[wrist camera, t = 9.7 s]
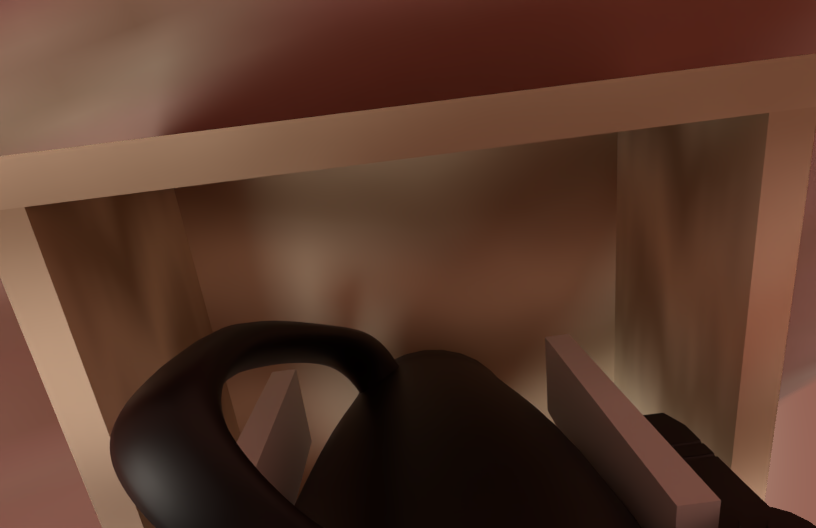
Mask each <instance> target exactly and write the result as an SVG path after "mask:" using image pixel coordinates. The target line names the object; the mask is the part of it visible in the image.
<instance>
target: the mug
mask: <svg viewBox="0 0 816 528" xmlns="http://www.w3.org/2000/svg"><path fill="white" fill-rule="evenodd" d="M287 363H312V364H320V365H325V366H328V367H331V368H333V369H335V370H337V371H339V372H340V373H342V374H343V375H344V376H346V377H347V378H348V379H349V380H350V381H351V382H352V384H353V385H354V386H355V387H356V388H357V390H358V391H359V394H358V396H357V397H356V399H355V400H354V402H353V403H352V404H351V406H350V407H349V409H348V410H347V411H346V413H345V414H344V415H343V417H342V418H341V420H340V421H339V423H338V424H337V426H336V427H335V429H334V430H333V432H332V434H331V435H330V437H329V439H328V441H327V442H326V444H325V446H324V448H323V449H322V451H321V453H320V455H319V457H318V458H317V460H316V462H315V464H314V466H313V468H312V470H311V472H310V474H309V476H308V478H307V480H306V482H305V484H304V486H303V488H302V490H301V493H300V495H299V497H298V499H297V501H296V503H295V505H293V504H292V503H291V502H290V501H288V500H287V499H286V498H285V497H284V496H283V495H282V494H281V493H280V492H279V491H278V490H277V489H276V488H275V487H274V486H273V485H272V484H271V483H270V482H269V481H268V480H267V479H266V478H265V477H264V476H263V475H262V474H261V473H260V471H259V470H258V469H257V468H256V467H255V466H254V465H253V463H252V462H251V461H250V460H249V459H248V457H247V456H246V455H245V453H244V452H243V451H242V449H241V448H240V447H239V445H238V444H237V442H236V441H235V439H234V438H233V436H232V435H231V433H230V431H229V429H228V427H227V425H226V422H225V419H224V415H223V411H222V403H221V397H222V389H223V385H224V383H225V382H226V381H227V380H228V379H230V378H231V377H233V376H234V375H236V374H238V373H240V372H243V371H247V370H250V369H255V368H259V367H264V366H270V365H277V364H287ZM110 456H111V461H112V465H113V468H114V470H115V473H116V475H117V477H118V479H119V481H120V483H121V485H122V487H123V488H124V490H125V491H126V493H127V495H128V496H129V497H130V499H131V500H132V502H133V503H134V504H135V505H136V507H137V508H138V509H139V510H140V511H141V513H142V514H143V515H144V516H145V517H146V518H147V519H148V520H149V521H150V523H151V524H152V525H153V526H154V527H155V528H641V526H640V525H639V523H638V522H637V520H636V519H635V517H634V516H633V515H632V514H631V513H630V511H629V510H628V509H627V508H626V506H625V505H624V504H623V503H622V501H621V500H620V499H619V498H618V497H617V495H616V494H615V493H614V492H613V490H612V489H611V488H610V487H609V486H608V484H607V483H606V482H605V481H604V479H603V478H602V477H601V476H600V475H599V473H598V472H597V471H596V470H595V468H594V467H593V466H592V465H591V464H590V462H589V461H588V460H587V459H586V457H585V456H584V455H583V454H582V453H581V452H580V450H579V449H578V448H577V447H576V446H575V445H574V444H573V443H572V442H571V441H570V440H569V439H568V438H567V437H566V436H565V435H564V434H563V433H562V431H561V430H560V429H559V428H558V427H557V426H556V425H555V424H554V423H553V422H551V421H550V420H549V419H548V418H547V417H546V416H545V415H544V414H543V413H542V412H541V411H539V410H538V409H537V408H536V407H535V406H534V405H532V404H531V403H530V402H529V401H528V400H526V399H525V398H524V397H523V396H521V395H520V394H519V393H517V392H516V391H515V390H513V389H512V388H511V387H509V386H508V385H507V384H505V383H504V382H503V381H501V380H500V379H499V378H498V377H496V376H495V374H494V373H493V372H492V371H491V370H490V369H488V368H487V367H486V366H484V365H483V364H481V363H480V362H479V361H477V360H475V359H473V358H471V357H468V356H466V355H464V354H461V353H456V352H451V351H446V350H422V351H418V352H413V353H409V354H405V355H403V356H401V357H398V358H396V359H394V358H393V356H392V355H391V353H390V352H389V351H388V350H387V349H386V347H385V346H384V345H383V344H382V343H381V342H380V341H378V340H377V339H376V338H374V337H373V336H371V335H370V334H368V333H365V332H363V331H360V330H356V329H352V328H347V327H341V326H333V325H325V324H316V323H307V322H296V321H275V320H272V321H257V322H248V323H239V324H234V325H230V326H226V327H224V328H221V329H219V330H217V331H215V332H213V333H211V334H209V335H207V336H205V337H203V338H201V339H199V340H198V341H196V342H194V343H193V344H191V345H190V346H189V347H187V348H186V349H185V350H183V351H182V352H180V353H179V354H178V355H176V356H175V357H174V358H172V359H171V360H170V361H168V362H167V363H166V364H164V365H163V366H162V367H161V368H160V369H158V370H157V371H156V372H155V373H154V374H153V375H152V376H151V377H150V378H149V379H148V380H147V381H146V382H145V383H144V384H143V385H142V386H141V387H140V388H139V389H138V390H137V391H136V392H135V393H134V394H133V395H132V397H131V398H130V399H129V400H128V401H127V403H126V404H125V406H124V407H123V409H122V410H121V412H120V414H119V416H118V417H117V419H116V421H115V423H114V426H113V429H112V432H111V436H110Z"/></svg>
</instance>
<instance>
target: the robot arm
mask: <svg viewBox="0 0 816 528" xmlns="http://www.w3.org/2000/svg"><path fill="white" fill-rule="evenodd" d="M545 350H546V379H547V408H548V412H549V414H550V416H551V417H552V419H553V421H554V423H555V424H556V426H557V427H558V428H559V429H560V430H561V431H562V433H563V434H564V435H565V436H566V437H567V438H568V439H569V440H570V441H571V442H572V443H573V444H574V445H575V446H576V447H577V448H578V449H579V450H580V452H581V453H582V454H583V455H584V456H585V457H586V459H587V460H588V461H589V462H590V464H591V465H592V466H593V467H594V468H595V470H596V471H597V472H598V473H599V475H600V476H601V477H602V478H603V479H604V481H605V482H606V483H607V484H608V486H609V487H610V488H611V489H612V490H613V492H614V493H615V494H616V495H617V497H618V498H619V499H620V500H621V501H622V503H623V504H624V505H625V506H626V508H627V509H628V510H629V511H630V513H631V514H632V515H633V516H634V517H635V519H636V520H637V522H638V523H639V525H640V526H641V528H816V526H815V525H813V524H812V523H811V522H809V521H807V520H805V519H803V518H801V517H799V516H797V515H795V514H793V513H791V512H788V511H784V510H780V509H777V508H773V507H769V506H768V505H767V504H766V503H765V502H764V501H763V500H762V499H761V498H760V497H759V496H758V495H757V494H756V493H755V492H754V491H753V490H752V489H751V488H750V487H749V486H748V485H747V484H745V483H744V482H743V481H742V480H741V479H740V478H739V477H738V476H737V475H736V474H735V473H734V472H733V471H732V470H731V469H730V468H729V467H728V466H727V465H726V464H725V463H724V462H723V461H722V460H721V459H720V458H719V457H718V456H715V455H714V452H713V451H711V450H710V449H709V448H708V447H707V446H706V445H705V444H704V443H701V440H700V439H699V438H698V437H697V436H696V435H695V434H694V433H693V432H692V431H691V430H690V429H689V428H688V427H687V426H686V425H685V424H683V423H681V422H679V421H677V420H676V419H674V418H672V417H670V416H668V415H667V414H665V413H656V414H648V415H642V413H641V412H640V411H639V410H638V409H637V408H636V407H635V406H634V405H633V404H632V403H631V401H630V400H629V399H628V398H627V397H626V396H625V395H624V394H623V393H622V392H621V391H620V389H619V388H618V387H617V386H616V385H615V384H614V383H613V382H612V381H611V380H610V378H609V377H608V376H607V375H606V374H605V373H604V372H603V371H602V370H601V369H600V368H599V366H598V365H597V364H596V363H595V362H594V361H593V360H592V359H591V358H590V357H589V356H588V354H587V353H586V352H585V351H584V350H583V349H582V348H581V347H580V346H579V345H578V343H577V342H576V341H575V340H574V339H573V338H572V337H571V336H570V335H569V334H564V335H556V336H548V337H545ZM311 442H312V440H311V435H310V431H309V426H308V422H307V417H306V413H305V408H304V403H303V399H302V394H301V390H300V385H299V381H298V376H297V371H296V369H292V370H284V371H276V372H272V373H271V375H270V377H269V379H268V381H267V383H266V385H265V387H264V389H263V391H262V393H261V395H260V397H259V399H258V401H257V403H256V405H255V407H254V409H253V411H252V413H251V415H250V417H249V419H248V421H247V423H246V425H245V427H244V429H243V431H242V433H241V434H240V436H239V438H238V440H237V444H238V445H239V447H240V448H241V449H242V451H243V452H244V453H245V455H246V456H247V457H248V459H249V460H250V461H251V462H252V463H253V465H254V466H255V467H256V468H257V469H258V470H259V471H260V473H261V474H262V475H263V476H264V477H265V478H266V479H267V480H268V481H269V482H270V483H271V484H272V485H273V486H274V487H275V488H276V489H277V490H278V491H279V492H280V493H281V494H282V495H283V496H284V497H285V498H286V499H287V500H288V501H290V502H291V503H292V504H293V505H295V503H296V500H297V496H298V492H299V488H300V484H301V481H302V477H303V473H304V469H305V465H306V461H307V458H308V454H309V450H310V446H311Z"/></svg>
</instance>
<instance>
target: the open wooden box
mask: <svg viewBox="0 0 816 528" xmlns="http://www.w3.org/2000/svg"><path fill="white" fill-rule="evenodd" d="M815 130H816V53H815V54H807V55H799V56H791V57H783V58H775V59H767V60H759V61H751V62H743V63H735V64H728V65H720V66H712V67H704V68H696V69H688V70H680V71H672V72H664V73H656V74H648V75H640V76H632V77H625V78H617V79H609V80H601V81H593V82H585V83H577V84H569V85H561V86H553V87H545V88H537V89H530V90H522V91H514V92H506V93H498V94H490V95H482V96H474V97H466V98H458V99H450V100H442V101H434V102H427V103H419V104H411V105H403V106H395V107H387V108H379V109H371V110H363V111H355V112H347V113H339V114H331V115H324V116H316V117H308V118H300V119H292V120H284V121H276V122H268V123H260V124H252V125H244V126H236V127H228V128H221V129H213V130H205V131H197V132H189V133H181V134H173V135H165V136H157V137H149V138H141V139H133V140H125V141H118V142H110V143H102V144H94V145H86V146H78V147H70V148H62V149H54V150H46V151H38V152H30V153H22V154H15V155H7V156H0V278H1V281H2V283H3V285H4V288H5V290H6V293H7V295H8V298H9V300H10V303H11V305H12V308H13V310H14V313H15V315H16V317H17V320H18V322H19V325H20V327H21V330H22V332H23V335H24V337H25V340H26V342H27V344H28V347H29V349H30V352H31V354H32V357H33V359H34V362H35V364H36V367H37V369H38V372H39V374H40V376H41V379H42V381H43V384H44V386H45V389H46V391H47V394H48V396H49V399H50V401H51V404H52V406H53V408H54V411H55V413H56V416H57V418H58V421H59V423H60V426H61V428H62V431H63V433H64V435H65V438H66V440H67V443H68V445H69V448H70V450H71V453H72V455H73V458H74V460H75V463H76V465H77V467H78V470H79V472H80V475H81V477H82V480H83V482H84V485H85V487H86V490H87V492H88V494H89V497H90V499H91V502H92V504H93V507H94V509H95V512H96V514H97V517H98V519H99V522H100V524H101V526H102V528H155V527H154V526H153V525H152V524H151V523H150V521H149V520H148V519H147V518H146V517H145V516H144V515H143V514H142V513H141V511H140V510H139V509H138V508H137V507H136V505H135V504H134V503H133V502H132V500H131V499H130V497H129V496H128V495H127V493H126V491H125V490H124V488H123V487H122V485H121V483H120V481H119V479H118V477H117V475H116V473H115V470H114V468H113V465H112V461H111V456H110V436H111V432H112V429H113V426H114V423H115V421H116V419H117V417H118V416H119V414H120V412H121V410H122V409H123V407H124V406H125V404H126V403H127V401H128V400H129V399H130V398H131V397H132V395H133V394H134V393H135V392H136V391H137V390H138V389H139V388H140V387H141V386H142V385H143V384H144V383H145V382H146V381H147V380H148V379H149V378H150V377H151V376H152V375H153V374H154V373H155V372H156V371H157V370H158V369H160V368H161V367H162V366H163V365H164V364H166V363H167V362H168V361H170V360H171V359H172V358H174V357H175V356H176V355H178V354H179V353H180V352H182V351H183V350H185V349H186V348H187V347H189V346H190V345H191V344H193V343H194V342H196V341H198V340H199V339H201V338H203V337H205V336H207V335H209V334H211V333H213V332H215V331H217V330H219V329H221V328H224V327H226V326H230V325H234V324H239V323H248V322H257V321H272V320H275V321H296V322H307V323H316V324H325V325H333V326H341V327H347V328H352V329H356V330H360V331H363V332H365V333H368V334H370V335H371V336H373V337H374V338H376V339H377V340H378V341H380V342H381V343H382V344H383V345H384V346H385V347H386V349H387V350H388V351H389V352H390V353H391V355H392V356H393V358H394V359H396V358H398V357H401V356H403V355H405V354H409V353H413V352H418V351H422V350H446V351H451V352H456V353H461V354H464V355H466V356H468V357H471V358H473V359H475V360H477V361H479V362H480V363H481V364H483V365H484V366H486V367H487V368H488V369H490V370H491V371H492V372H493V373H494V374H495V376H496V377H498V378H499V379H500V380H501V381H503V382H504V383H505V384H507V385H508V386H509V387H511V388H512V389H513V390H515V391H516V392H517V393H519V394H520V395H521V396H523V397H524V398H525V399H526V400H528V401H529V402H530V403H531V404H532V405H534V406H535V407H536V408H537V409H538V410H539V411H541V412H542V413H543V414H544V415H545V416H546V417H547V418H548V419H549V420H550V421H551V422H553V423H554V421H553V419H552V417H551V416H550V414H549V412H548V408H547V379H546V350H545V337H548V336H556V335H564V334H569V335H570V336H571V337H572V338H573V339H574V340H575V341H576V342H577V343H578V345H579V346H580V347H581V348H582V349H583V350H584V351H585V352H586V353H587V354H588V356H589V357H590V358H591V359H592V360H593V361H594V362H595V363H596V364H597V365H598V366H599V368H600V369H601V370H602V371H603V372H604V373H605V374H606V375H607V376H608V377H609V378H610V380H611V381H612V382H613V383H614V384H615V385H616V386H617V387H618V388H619V389H620V391H621V392H622V393H623V394H624V395H625V396H626V397H627V398H628V399H629V400H630V401H631V403H632V404H633V405H634V406H635V407H636V408H637V409H638V410H639V411H640V412H641V413H642V415H648V414H656V413H665V414H667V415H668V416H670V417H672V418H674V419H676V420H677V421H679V422H681V423H683V424H685V425H686V426H687V427H688V428H689V429H690V430H691V431H692V432H693V433H694V434H695V435H696V436H697V437H698V438H699V439H700V440H701V443H704V444H705V445H706V446H707V447H708V448H709V449H710V450H711V451H713V452H714V455H715V456H718V457H719V458H720V459H721V460H722V461H723V462H724V463H725V464H726V465H727V466H728V467H729V468H730V469H731V470H732V471H733V472H734V473H735V474H736V475H737V476H738V477H739V478H740V479H741V480H742V481H743V482H744V483H745V484H747V485H748V486H749V487H750V488H751V489H752V490H753V491H754V492H755V493H756V494H757V495H758V496H759V497H760V498H761V499H762V500H763V501H765V494H766V486H767V479H768V472H769V464H770V458H771V450H772V442H773V436H774V428H775V421H776V414H777V407H778V399H779V392H780V385H781V377H782V370H783V363H784V356H785V348H786V341H787V334H788V326H789V319H790V312H791V305H792V297H793V290H794V283H795V275H796V268H797V261H798V254H799V246H800V239H801V232H802V224H803V217H804V210H805V203H806V195H807V188H808V181H809V173H810V166H811V159H812V152H813V144H814V137H815ZM292 369H296V371H297V376H298V381H299V385H300V390H301V394H302V399H303V403H304V408H305V413H306V417H307V422H308V426H309V431H310V435H311V440H312V442H311V446H310V450H309V454H308V458H307V461H306V465H305V469H304V473H303V477H302V481H301V484H300V488H299V492H298V496H297V499H298V497H299V495H300V493H301V490H302V488H303V486H304V484H305V482H306V480H307V478H308V476H309V474H310V472H311V470H312V468H313V466H314V464H315V462H316V460H317V458H318V457H319V455H320V453H321V451H322V449H323V448H324V446H325V444H326V442H327V441H328V439H329V437H330V435H331V434H332V432H333V430H334V429H335V427H336V426H337V424H338V423H339V421H340V420H341V418H342V417H343V415H344V414H345V413H346V411H347V410H348V409H349V407H350V406H351V404H352V403H353V402H354V400H355V399H356V397H357V396H358V394H359V391H358V390H357V388H356V387H355V386H354V385H353V384H352V382H351V381H350V380H349V379H348V378H347V377H346V376H344V375H343V374H342V373H340V372H339V371H337V370H335V369H333V368H331V367H328V366H325V365H320V364H312V363H287V364H277V365H270V366H264V367H259V368H255V369H250V370H247V371H243V372H240V373H238V374H236V375H234V376H233V377H231V378H230V379H228V380H227V381H226V382H225V383H224V385H223V389H222V397H221V403H222V411H223V415H224V419H225V422H226V425H227V427H228V429H229V431H230V433H231V435H232V436H233V438H234V439H235V441H236V442H237V440H238V438H239V436H240V434H241V433H242V431H243V429H244V427H245V425H246V423H247V421H248V419H249V417H250V415H251V413H252V411H253V409H254V407H255V405H256V403H257V401H258V399H259V397H260V395H261V393H262V391H263V389H264V387H265V385H266V383H267V381H268V379H269V377H270V375H271V373H272V372H276V371H284V370H292ZM554 424H555V423H554ZM555 425H556V424H555ZM296 501H297V500H296Z"/></svg>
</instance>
